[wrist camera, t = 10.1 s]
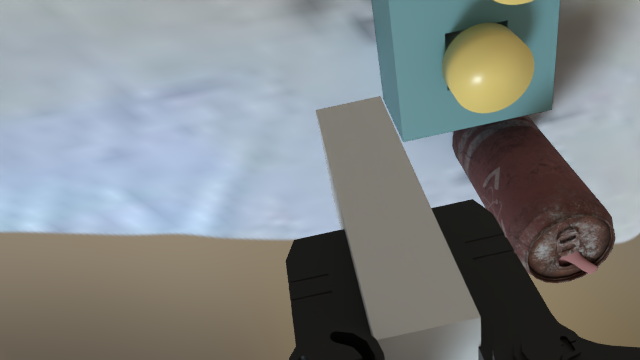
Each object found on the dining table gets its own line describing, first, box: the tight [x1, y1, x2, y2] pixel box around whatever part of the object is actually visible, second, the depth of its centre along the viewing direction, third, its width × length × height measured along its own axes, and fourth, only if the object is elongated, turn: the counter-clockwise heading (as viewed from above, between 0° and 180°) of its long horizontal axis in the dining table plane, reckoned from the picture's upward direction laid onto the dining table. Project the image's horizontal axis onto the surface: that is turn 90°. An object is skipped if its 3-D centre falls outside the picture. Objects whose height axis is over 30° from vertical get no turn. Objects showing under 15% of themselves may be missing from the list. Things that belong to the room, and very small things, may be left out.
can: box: [452, 115, 615, 283], centre depth 41 cm, size 6×6×14 cm
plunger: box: [442, 23, 534, 113], centre depth 37 cm, size 5×5×8 cm
